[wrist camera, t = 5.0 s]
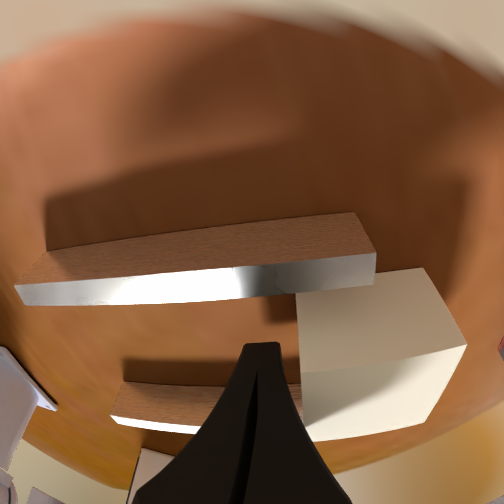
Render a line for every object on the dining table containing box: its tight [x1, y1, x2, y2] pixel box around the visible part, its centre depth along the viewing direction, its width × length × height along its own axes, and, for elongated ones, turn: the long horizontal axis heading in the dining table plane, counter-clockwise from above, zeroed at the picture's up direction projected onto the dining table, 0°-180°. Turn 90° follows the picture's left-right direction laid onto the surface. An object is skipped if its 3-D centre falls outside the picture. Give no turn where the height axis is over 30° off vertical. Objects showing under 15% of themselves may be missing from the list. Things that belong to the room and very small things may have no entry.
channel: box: [14, 212, 377, 434], centre depth 12 cm, size 12×10×2 cm
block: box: [296, 267, 467, 442], centre depth 10 cm, size 5×5×4 cm
